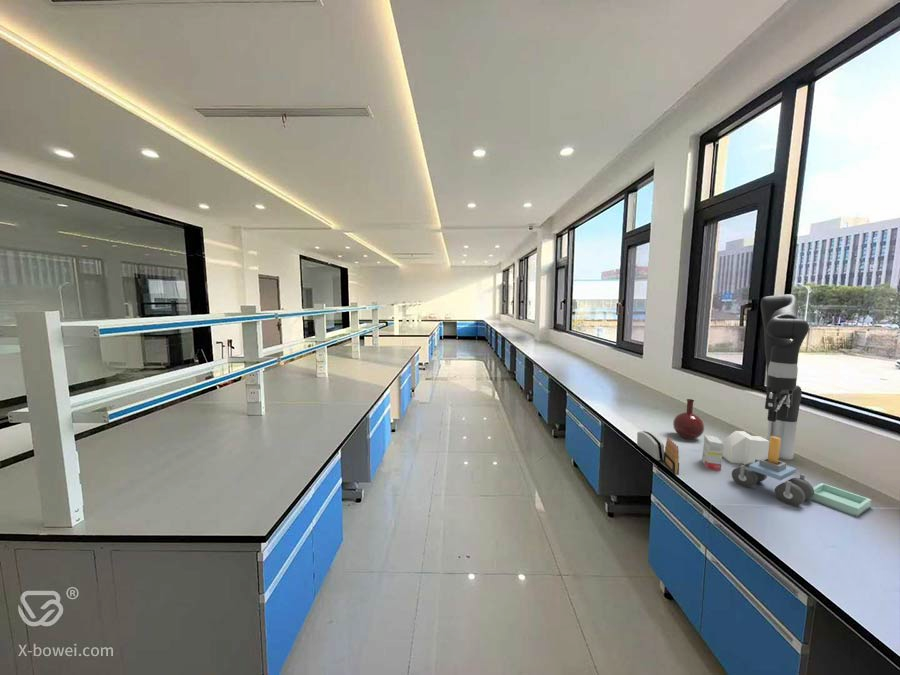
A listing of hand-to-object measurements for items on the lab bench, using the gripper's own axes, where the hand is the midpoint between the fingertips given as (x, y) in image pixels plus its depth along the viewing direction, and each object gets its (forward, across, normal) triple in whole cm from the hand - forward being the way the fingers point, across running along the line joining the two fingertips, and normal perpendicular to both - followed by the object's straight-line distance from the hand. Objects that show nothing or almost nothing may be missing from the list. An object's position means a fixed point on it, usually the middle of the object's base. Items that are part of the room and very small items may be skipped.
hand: (777, 419), depth 124 cm
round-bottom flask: (+28, -26, -43) cm, 57 cm away
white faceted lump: (+28, -20, -17) cm, 38 cm away
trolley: (+28, 0, 0) cm, 28 cm away
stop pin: (+18, 0, 0) cm, 18 cm away
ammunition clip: (+28, +15, -27) cm, 41 cm away
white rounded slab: (+28, +9, -39) cm, 49 cm away
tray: (+28, -12, +14) cm, 33 cm away
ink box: (+28, -4, -21) cm, 35 cm away
